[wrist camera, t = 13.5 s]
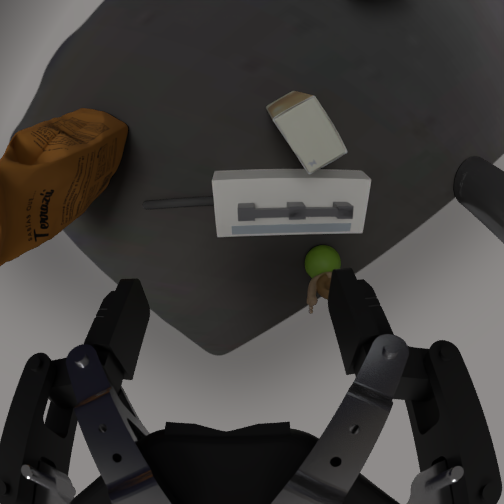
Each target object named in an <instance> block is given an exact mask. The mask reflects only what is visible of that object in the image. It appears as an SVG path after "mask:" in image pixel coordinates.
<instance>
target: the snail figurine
mask: <svg viewBox="0 0 504 504" xmlns="http://www.w3.org/2000/svg"><path fill="white" fill-rule="evenodd" d="M340 266H341V260H340V256H339V254H338V253H337V251H336V250H335V249H333V248H332V247H330V246H327V245H319V246H316V247H314V248H312V249H311V250H310V251H309V252H308V254H307V255H306V258H305V269H306V271H307V273H308V275H309V276H310V277H311V278H312V279H311V281H310V283H309V286H308V297H307V304H308V305H309V309H310V310H309V313H310V314H311V313H312V312H313V310H312V309H313V306H314V305H316V303H317V301H318V300H317V297H316V290H317V292H318V293H319V295H320V296H322V297H323V298H325V299H327V300H328V295H329V288H330V282H331V275H332V271H333V269H340Z"/></svg>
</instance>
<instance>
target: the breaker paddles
mask: <svg viewBox="0 0 504 504" xmlns="http://www.w3.org/2000/svg"><path fill="white" fill-rule="evenodd" d="M353 208H354V206H353V205H351V204H350V203H348V202H333V207H306V206H305V205H304V203H303V202H287V207H286V208H255V205H254V203H238V208H237V209H238V221H255V218H281V217H288V219H289V220H301V219H306V217H336V218H337V219H353Z"/></svg>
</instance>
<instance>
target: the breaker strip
mask: <svg viewBox="0 0 504 504" xmlns="http://www.w3.org/2000/svg"><path fill="white" fill-rule="evenodd" d="M370 185H371V179H370V178H369V177H368V176H367V175H366V174H365V173H364V172H363V171H361V170H335V169H319V170H317V171H315V172H313V173H311V174H308V173H307V171H306V170H305V169H254V170H228V171H215V172H214V175H213V178H212V187H213V196H209V197H192V198H176V199H163V200H150V201H145V202H144V203H143V208H144V209H158V208H172V207H188V206H206V205H214V209H215V219H216V229H217V237H232V236H262V235H296V234H338V233H362V232H363V227H364V221H365V216H366V210H367V204H368V198H369V191H370ZM287 202H303V203H304V205H305V206H306V207H333V202H348V203H350V204H351V205H353V206H354V208H353V219H337V218H336V217H306V219H301V220H289V219H288V217H281V218H255V221H238V209H237V208H238V203H254V205H255V208H286V207H287Z"/></svg>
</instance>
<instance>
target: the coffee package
mask: <svg viewBox="0 0 504 504" xmlns="http://www.w3.org/2000/svg"><path fill="white" fill-rule="evenodd" d="M127 133H128V126H127V125H126V124H125V123H124V122H122V121H120V120H118V119H116V118H115V117H113V116H111V115H110V114H108V113H106V112H103V111H97V110H94V109H86V108H81V109H79V110H77V111H74V112H71V113H67V114H66V115H64V116H62V117H59V118H53V119H51V120H49V121H44V122H41V123H39V124H37V125H35V126H33V127H29V128H26V129H23V130H21V131H19V132H17V133H16V134H15V135H14V137H13V138H12V140H11V141H10V143H9V145H8V146H7V149H6V151H5V153H4V155H3V157H2V158H1V159H0V266H1V265H3V264H4V263H5V262H8V261H11V260H13V259H15V258H17V257H19V256H20V255H22V254H23V253H25V252H27V251H29V250H31V249H34V248H36V247H38V246H39V245H41V244H42V243H44V242H46V241H47V240H50V239H52V238H53V237H54V236H55V235H57V234H58V233H59V232H61V231H62V230H63V229H64V228H65V227H66V226H68V225H69V224H70V223H72V222H73V221H74V220H75V219H76V218H78V217H79V216H80V215H82V214H83V213H84V212H85V211H86V209H87V208H88V207H89V205H90V204H91V203H92V202H93V201H94V200H95V199H96V198H97V197H98V196H99V195H100V194H101V193H102V192H103V191H104V190H105V189H106V188H107V186H108V184H109V181H110V178H111V177H112V176H113V174H114V173H115V172H116V171H117V168H118V166H119V164H120V161H121V158H122V154H123V150H124V145H125V142H126V138H127Z"/></svg>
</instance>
